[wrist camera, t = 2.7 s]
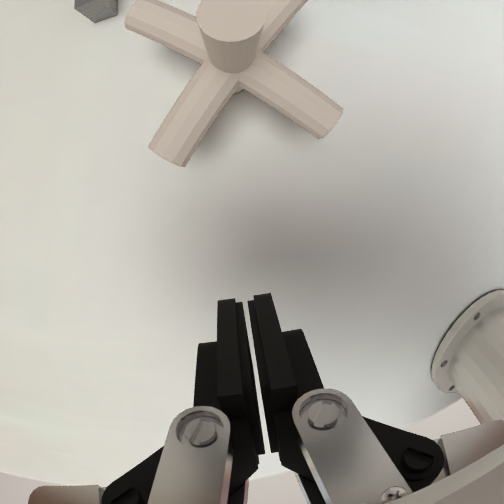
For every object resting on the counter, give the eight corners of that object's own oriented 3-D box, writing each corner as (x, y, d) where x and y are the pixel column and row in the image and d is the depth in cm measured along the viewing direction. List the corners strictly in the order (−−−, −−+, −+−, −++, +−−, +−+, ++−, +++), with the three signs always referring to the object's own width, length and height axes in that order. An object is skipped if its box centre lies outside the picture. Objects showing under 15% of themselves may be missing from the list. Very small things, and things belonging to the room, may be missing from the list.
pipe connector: (348, 65, 15) (448, 18, 6) (256, 194, 18) (282, 262, 9) (210, -17, 13) (195, -120, 3) (116, 111, 15) (10, 99, 6)
